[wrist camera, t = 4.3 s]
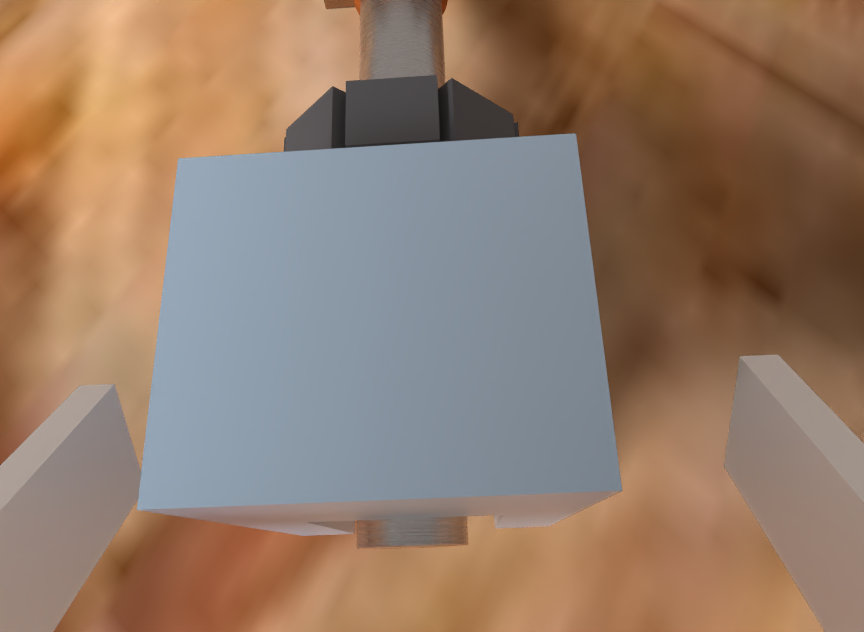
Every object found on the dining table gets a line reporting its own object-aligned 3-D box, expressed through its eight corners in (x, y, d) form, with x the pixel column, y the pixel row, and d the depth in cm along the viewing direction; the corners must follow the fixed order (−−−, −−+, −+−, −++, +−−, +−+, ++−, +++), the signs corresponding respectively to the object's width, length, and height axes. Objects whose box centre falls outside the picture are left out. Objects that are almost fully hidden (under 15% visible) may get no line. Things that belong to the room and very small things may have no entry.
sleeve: (548, 526, 19) (622, 490, 9) (302, 535, 19) (136, 510, 10) (530, 325, 21) (576, 133, 11) (309, 337, 21) (178, 158, 12)
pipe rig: (546, 546, 20) (582, 537, 13) (310, 554, 20) (229, 551, 13) (491, -77, 28) (496, -270, 22) (328, -64, 29) (284, -251, 22)
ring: (514, 253, 21) (529, 133, 15) (317, 264, 21) (257, 151, 15) (509, 203, 21) (523, 69, 16) (319, 214, 22) (262, 86, 16)
